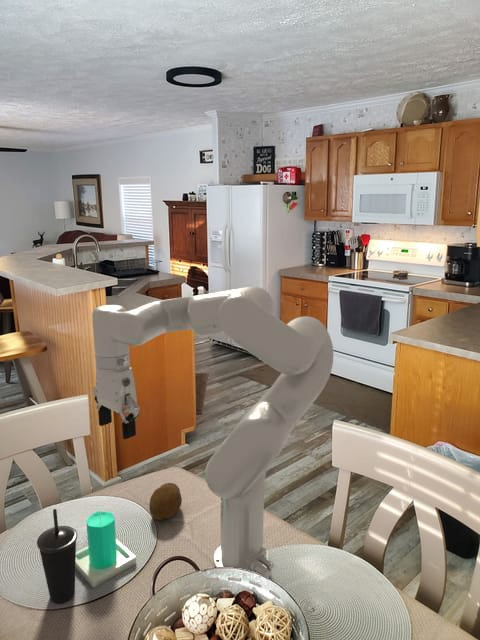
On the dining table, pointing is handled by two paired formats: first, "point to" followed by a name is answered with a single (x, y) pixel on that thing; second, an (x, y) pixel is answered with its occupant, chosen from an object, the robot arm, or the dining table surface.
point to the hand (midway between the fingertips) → (117, 430)
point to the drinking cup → (59, 560)
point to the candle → (101, 540)
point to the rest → (102, 575)
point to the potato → (165, 501)
